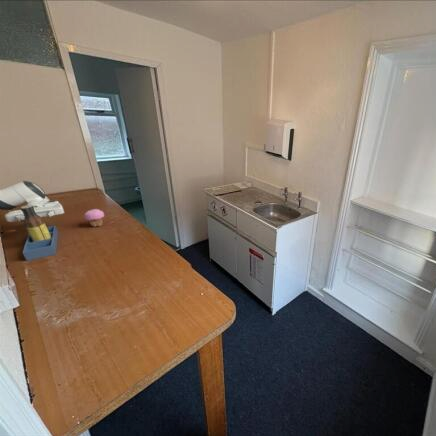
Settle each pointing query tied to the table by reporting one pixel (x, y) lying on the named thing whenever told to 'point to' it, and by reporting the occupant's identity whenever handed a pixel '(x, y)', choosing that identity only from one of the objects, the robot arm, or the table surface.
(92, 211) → the cupcake
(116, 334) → the table surface
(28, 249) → the tray
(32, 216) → the sauce bottle
